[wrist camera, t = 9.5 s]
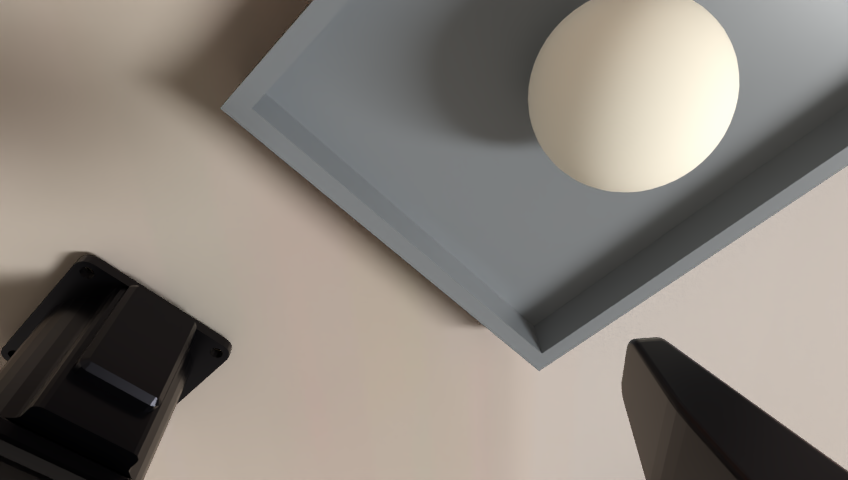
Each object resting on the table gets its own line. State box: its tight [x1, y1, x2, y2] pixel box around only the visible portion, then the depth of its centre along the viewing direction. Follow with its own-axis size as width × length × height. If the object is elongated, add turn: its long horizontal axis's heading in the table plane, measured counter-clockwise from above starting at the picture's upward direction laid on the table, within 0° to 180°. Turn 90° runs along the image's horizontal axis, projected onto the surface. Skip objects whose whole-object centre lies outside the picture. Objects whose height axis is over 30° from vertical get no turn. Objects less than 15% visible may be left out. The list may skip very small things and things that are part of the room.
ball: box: [528, 0, 739, 192], centre depth 15 cm, size 5×5×5 cm
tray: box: [220, 0, 848, 371], centre depth 16 cm, size 16×14×2 cm
